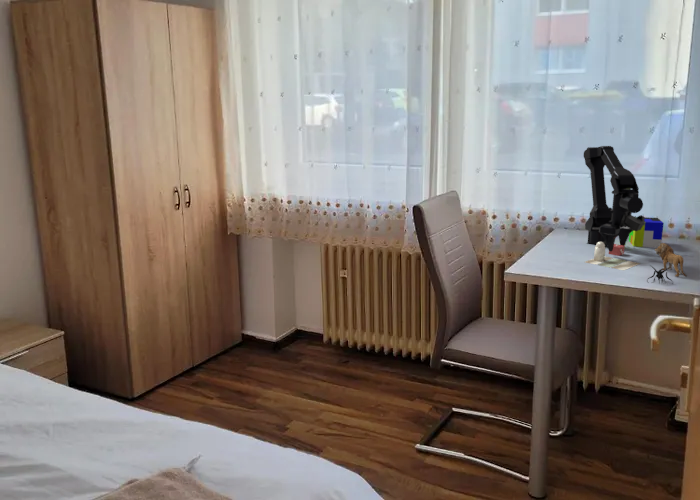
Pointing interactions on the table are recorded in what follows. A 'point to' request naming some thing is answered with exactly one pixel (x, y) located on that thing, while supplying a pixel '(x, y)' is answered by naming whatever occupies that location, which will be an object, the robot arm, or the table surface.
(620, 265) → the board
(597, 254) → the pawn
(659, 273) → the creature
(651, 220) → the puzzle toy
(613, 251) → the die
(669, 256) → the lion figurine
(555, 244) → the table surface
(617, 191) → the robot arm
